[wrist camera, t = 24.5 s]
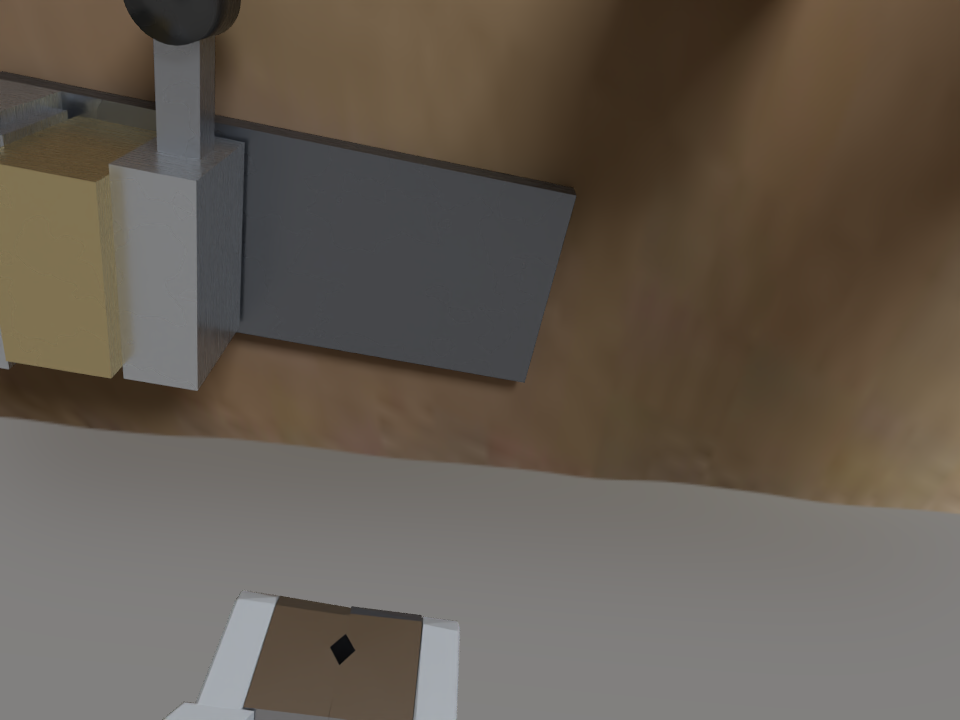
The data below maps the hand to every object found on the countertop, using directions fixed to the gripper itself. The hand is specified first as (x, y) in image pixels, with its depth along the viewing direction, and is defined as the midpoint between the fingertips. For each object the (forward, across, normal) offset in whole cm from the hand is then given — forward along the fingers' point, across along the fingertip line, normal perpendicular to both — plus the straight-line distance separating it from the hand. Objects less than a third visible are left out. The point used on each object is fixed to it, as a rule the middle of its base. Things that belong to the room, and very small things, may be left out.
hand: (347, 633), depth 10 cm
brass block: (+24, +13, +5) cm, 28 cm away
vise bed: (+25, +6, +5) cm, 26 cm away
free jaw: (+24, +10, +1) cm, 26 cm away
